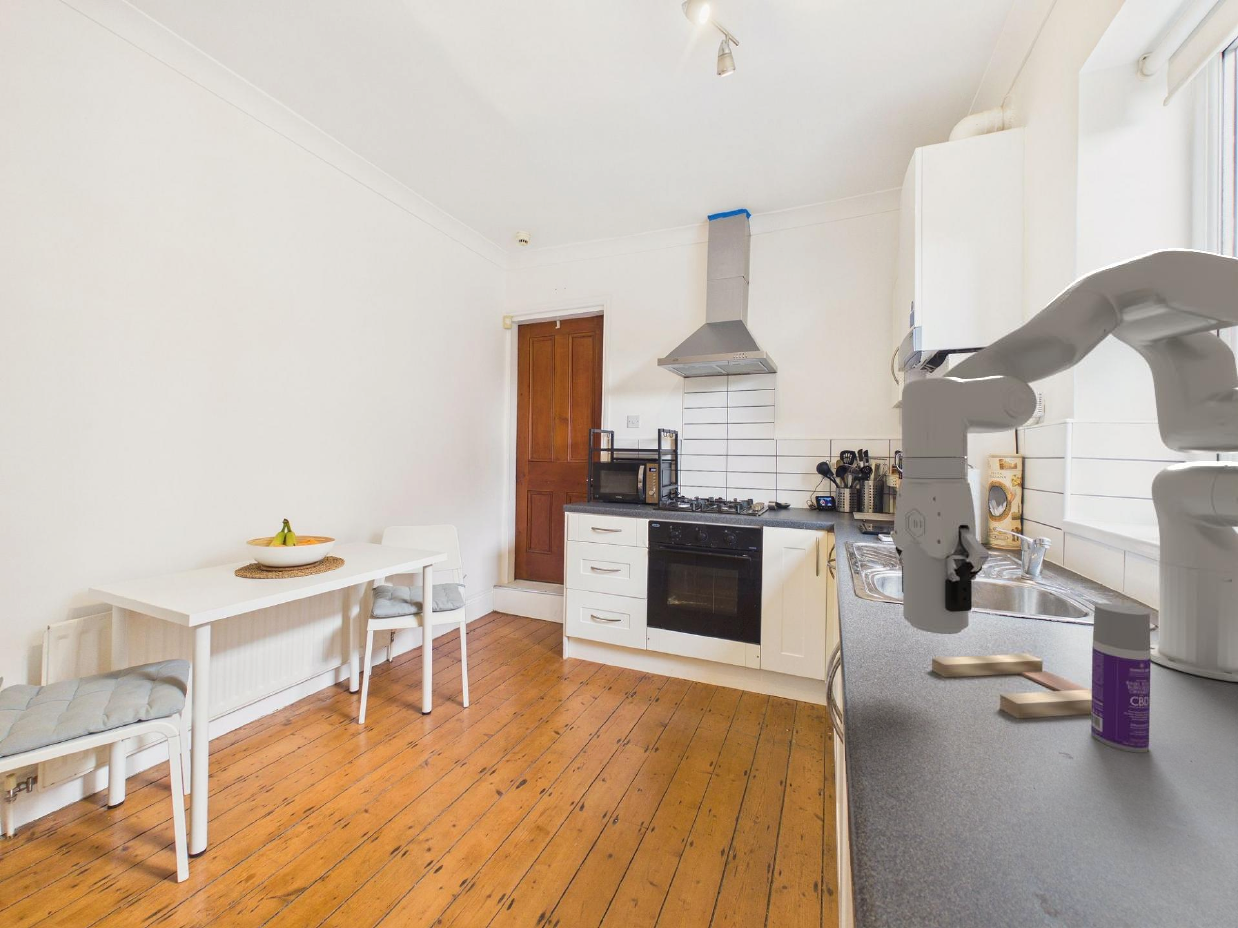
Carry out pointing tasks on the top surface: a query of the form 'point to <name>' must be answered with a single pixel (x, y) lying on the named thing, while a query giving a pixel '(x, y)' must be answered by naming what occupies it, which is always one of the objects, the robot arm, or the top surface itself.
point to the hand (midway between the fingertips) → (934, 600)
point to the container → (1121, 677)
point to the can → (928, 592)
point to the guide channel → (1022, 705)
